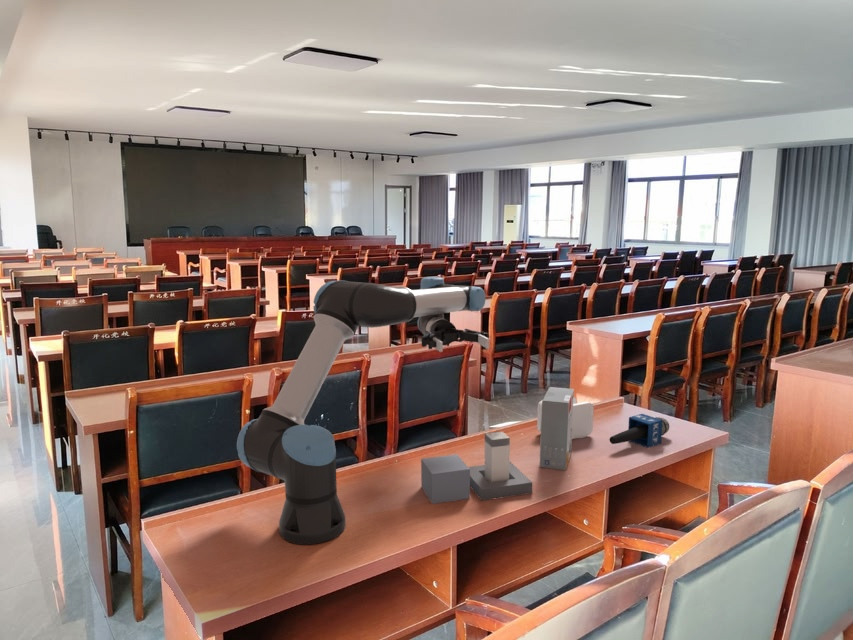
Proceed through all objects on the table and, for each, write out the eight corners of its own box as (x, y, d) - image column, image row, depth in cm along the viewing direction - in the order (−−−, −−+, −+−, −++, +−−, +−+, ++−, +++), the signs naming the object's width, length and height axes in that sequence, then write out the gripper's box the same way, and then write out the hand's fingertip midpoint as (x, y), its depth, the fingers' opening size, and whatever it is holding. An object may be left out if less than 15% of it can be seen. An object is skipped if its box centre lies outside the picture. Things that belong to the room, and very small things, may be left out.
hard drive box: (566, 471, 172) (568, 403, 168) (539, 468, 174) (540, 400, 171) (571, 451, 186) (574, 388, 183) (546, 448, 189) (548, 385, 185)
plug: (491, 490, 160) (491, 439, 158) (484, 482, 165) (484, 433, 163) (509, 488, 162) (509, 437, 159) (501, 480, 167) (502, 431, 164)
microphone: (602, 424, 187) (655, 409, 200) (601, 448, 188) (654, 432, 202) (623, 431, 181) (676, 416, 194) (622, 456, 182) (674, 439, 195)
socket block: (481, 500, 155) (481, 489, 154) (463, 477, 168) (463, 467, 168) (532, 493, 159) (532, 482, 158) (510, 471, 172) (510, 461, 172)
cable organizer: (555, 444, 192) (556, 409, 190) (535, 433, 201) (536, 399, 199) (593, 436, 198) (594, 402, 196) (572, 426, 208) (573, 393, 206)
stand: (432, 504, 153) (432, 474, 152) (421, 487, 163) (421, 458, 161) (469, 498, 156) (469, 468, 155) (456, 482, 166) (456, 454, 164)
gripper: (479, 340, 192) (506, 355, 172) (402, 345, 185) (421, 362, 165) (479, 316, 191) (506, 329, 171) (401, 321, 184) (421, 334, 164)
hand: (464, 345), depth 168 cm, fingers open, 13 cm apart
